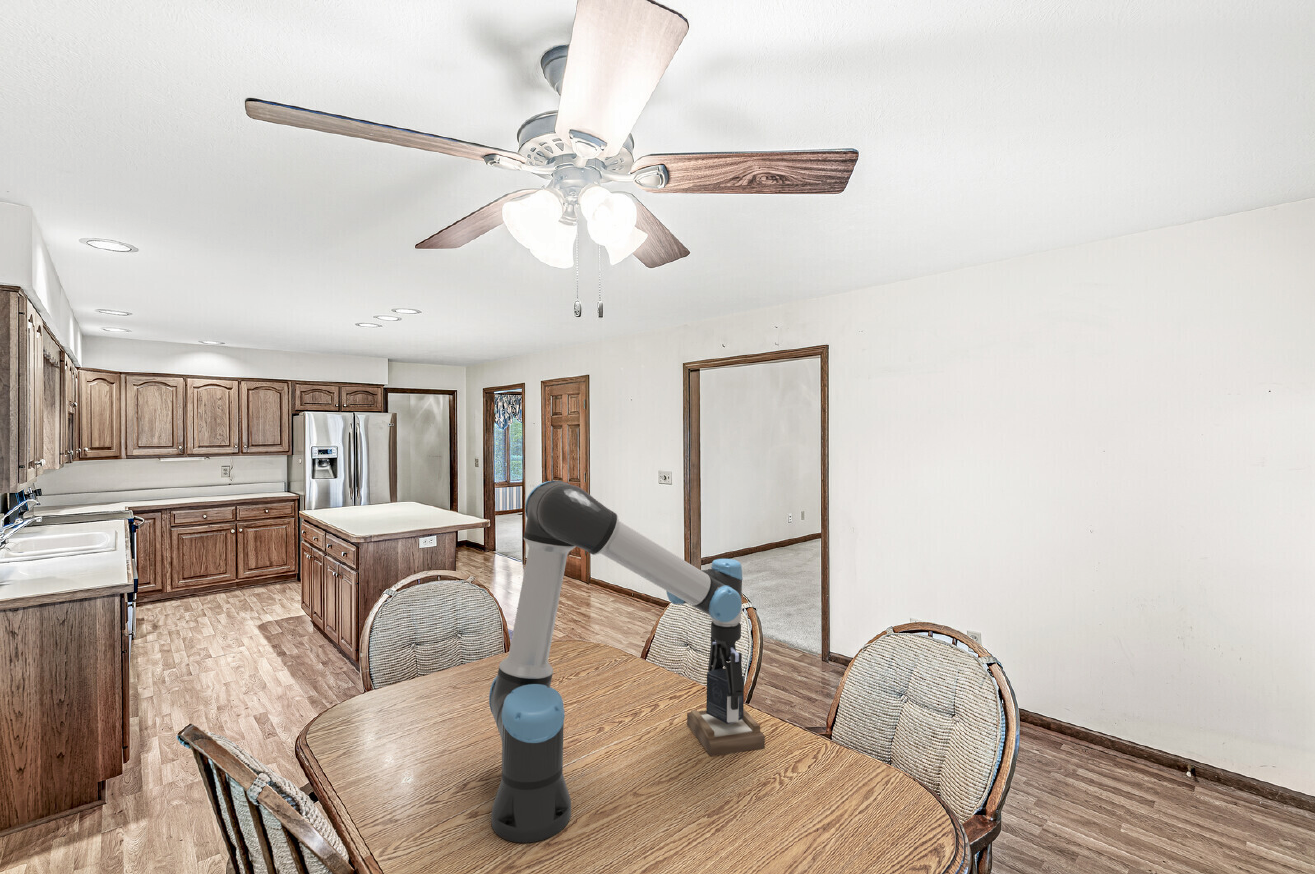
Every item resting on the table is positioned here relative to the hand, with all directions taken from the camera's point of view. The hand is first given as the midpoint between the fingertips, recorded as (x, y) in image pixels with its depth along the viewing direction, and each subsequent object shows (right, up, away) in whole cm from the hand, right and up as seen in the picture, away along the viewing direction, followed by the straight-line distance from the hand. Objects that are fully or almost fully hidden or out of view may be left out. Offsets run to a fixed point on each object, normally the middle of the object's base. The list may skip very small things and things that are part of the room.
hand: (724, 711), depth 147 cm
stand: (0, -6, 0) cm, 6 cm away
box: (0, -1, 0) cm, 1 cm away
